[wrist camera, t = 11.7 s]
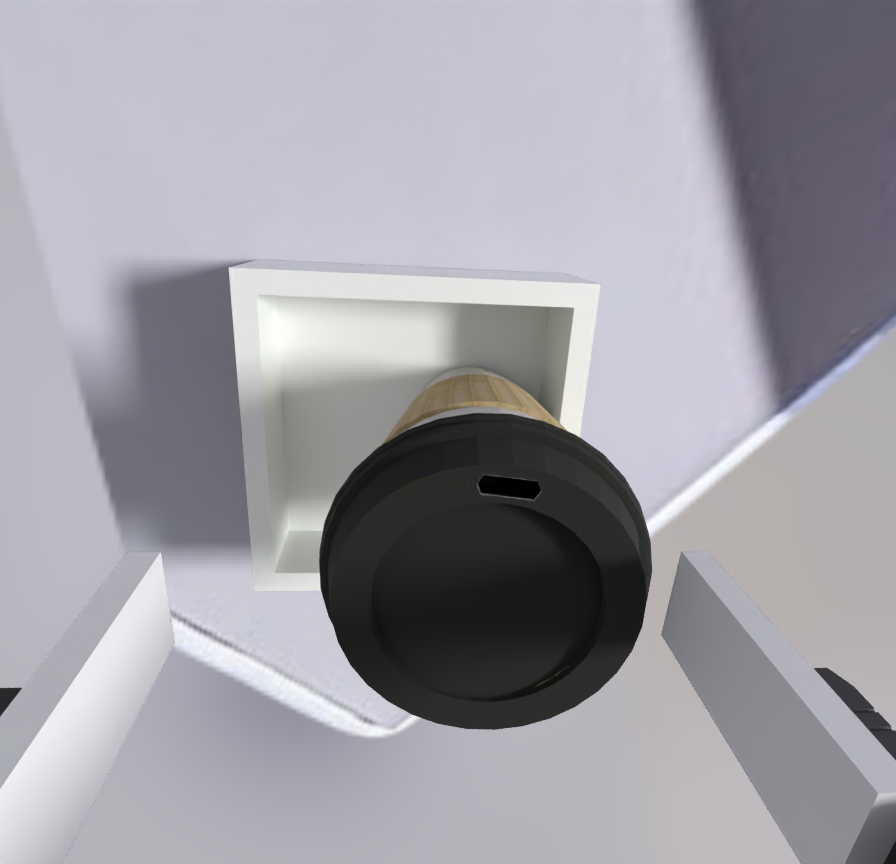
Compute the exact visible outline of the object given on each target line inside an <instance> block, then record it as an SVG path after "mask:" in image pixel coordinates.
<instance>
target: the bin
mask: <svg viewBox="0 0 896 864" xmlns="http://www.w3.org/2000/svg"><path fill="white" fill-rule="evenodd" d="M229 278H230V291H231V303H232V316H233V329H234V342H235V355H236V367H237V380H238V393H239V406H240V418H241V431H242V444H243V457H244V469H245V482H246V495H247V508H248V521H249V533H250V546H251V559H252V572H253V584H254V591H312V590H321V587H320V570H319V550H320V544H321V538H322V533H323V527H324V522H325V519H326V517H327V514H328V512H329V510H330V507H331V505H332V503H333V500H334V498H335V495H336V494H337V492H338V491H339V490H340V488H341V487H342V485H343V484H344V482H345V481H346V480H347V478H348V477H349V475H350V474H351V473H352V471H353V470H354V469H355V468H356V467H357V466H358V465H359V464H360V463H361V462H362V461H364V460H365V459H366V458H367V457H368V456H369V455H370V454H371V453H372V452H373V451H374V450H376V449H377V448H378V447H379V446H381V445H382V443H383V442H384V441H385V439H386V438H387V436H388V435H389V434H390V432H391V431H392V429H393V428H394V427H395V425H396V424H397V422H398V421H399V420H400V418H401V417H402V415H403V414H404V413H405V411H406V410H407V408H408V407H409V406H410V404H411V403H412V401H413V400H415V399H416V398H417V397H418V396H419V395H420V394H421V393H422V391H423V390H424V388H425V387H426V386H427V385H428V384H429V383H430V382H431V381H433V380H434V379H435V378H437V377H438V376H440V375H442V374H443V373H445V372H448V371H451V370H453V369H456V368H462V367H482V368H486V369H491V370H494V371H496V372H498V373H500V374H503V375H504V376H505V377H507V378H508V379H510V380H511V381H512V382H513V383H514V384H516V385H517V386H519V387H520V388H522V389H523V390H524V391H526V392H527V393H529V394H530V395H531V396H532V397H533V398H534V399H535V400H536V401H537V402H538V403H539V404H540V405H541V406H542V407H543V408H544V409H545V410H547V411H548V412H549V413H550V414H551V415H552V416H553V417H554V418H555V419H556V420H557V421H558V422H559V423H560V424H561V425H562V426H563V427H564V428H565V429H566V430H567V431H568V432H571V433H573V434H575V435H577V436H578V437H580V430H581V423H582V416H583V408H584V401H585V394H586V387H587V380H588V372H589V365H590V358H591V351H592V343H593V336H594V329H595V322H596V315H597V307H598V300H599V293H600V286H601V284H598V283H595V282H592V281H588V280H585V279H582V278H579V277H575V276H572V275H569V274H558V273H537V272H515V271H494V270H472V269H450V268H429V267H407V266H386V265H364V264H343V263H321V262H300V261H278V260H254V261H251V262H247V263H243V264H240V265H236V266H233V267H229Z"/></svg>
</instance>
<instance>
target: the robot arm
mask: <svg viewBox="0 0 896 864" xmlns="http://www.w3.org/2000/svg"><path fill="white" fill-rule="evenodd" d="M662 637H663V638H664V640H665V641H666V643H667V645H668V646H669V648H670V650H671V651H672V653H673V655H674V656H675V658H676V659H677V661H678V663H679V664H680V666H681V668H682V669H683V671H684V673H685V674H686V676H687V677H688V679H689V681H690V682H691V684H692V686H693V687H694V689H695V691H696V692H697V694H698V696H699V697H700V699H701V700H702V702H703V704H704V705H705V707H706V709H707V710H708V712H709V714H710V715H711V717H712V718H713V720H714V722H715V724H716V725H717V727H718V728H719V730H720V732H721V733H722V735H723V737H724V738H725V740H726V742H727V743H728V745H729V746H730V748H731V750H732V751H733V753H734V755H735V756H736V758H737V760H738V761H739V763H740V765H741V766H742V768H743V769H744V771H745V773H746V774H747V776H748V778H749V779H750V781H751V782H752V784H753V786H754V787H755V789H756V791H757V792H758V794H759V795H760V797H761V799H762V801H763V802H764V804H765V805H766V807H767V809H768V811H769V812H770V814H771V815H772V817H773V819H774V820H775V822H776V824H777V825H778V827H779V829H780V830H781V832H782V834H783V835H784V836H785V838H786V840H787V842H788V843H789V845H790V846H791V848H792V850H793V851H794V853H795V855H796V856H797V858H798V860H799V861H800V863H801V864H896V731H892V729H891V726H890V725H889V723H888V722H887V721H886V720H885V719H884V718H883V717H882V716H881V715H880V714H879V713H878V712H875V711H874V708H873V706H872V705H871V704H870V703H869V702H868V701H867V700H866V699H865V698H864V697H863V696H862V695H861V694H860V693H859V692H858V691H857V689H855V687H853V686H852V685H851V684H849V683H848V682H847V681H845V680H843V679H842V678H841V677H839V676H838V675H837V674H835V673H834V672H832V671H831V670H829V669H828V668H813V667H812V666H811V665H810V664H809V663H808V662H807V661H806V659H805V658H804V657H803V656H802V655H801V654H800V653H799V651H798V650H797V649H796V648H795V647H794V646H793V645H792V644H791V642H789V640H788V639H787V638H786V637H785V636H784V635H783V633H782V632H780V630H779V629H778V628H777V627H776V626H775V625H774V624H773V622H772V621H771V620H770V619H769V618H768V617H767V616H766V615H765V613H764V612H763V611H762V610H761V609H760V608H759V607H758V605H757V604H756V603H755V602H754V601H753V600H752V599H751V598H750V596H749V595H748V594H747V593H746V592H745V591H744V590H743V589H742V588H741V586H740V585H739V584H738V583H737V582H736V581H735V580H734V579H733V578H732V576H730V574H729V573H728V572H727V571H726V570H725V569H724V567H723V566H722V565H721V564H720V563H719V562H718V561H717V559H716V558H715V557H714V556H713V555H712V554H711V553H710V552H709V551H681V555H680V559H679V564H678V568H677V572H676V576H675V580H674V584H673V588H672V592H671V597H670V601H669V605H668V609H667V614H666V618H665V621H664V626H663V630H662ZM174 643H175V640H174V634H173V628H172V621H171V615H170V609H169V602H168V596H167V589H166V583H165V577H164V570H163V564H162V558H161V552H127V553H126V554H125V556H124V557H123V558H122V560H121V561H120V562H119V563H118V565H117V566H116V567H115V569H114V570H113V571H112V572H111V574H110V575H109V576H108V578H107V579H106V580H105V582H104V583H103V584H102V585H101V587H100V588H99V589H98V591H97V592H96V593H95V594H94V596H93V597H92V598H91V600H90V601H89V602H88V604H87V605H86V606H85V607H84V609H83V610H82V611H81V613H80V614H79V615H78V617H77V618H76V619H75V620H74V622H73V623H72V624H71V626H70V627H69V628H68V629H67V631H66V632H65V633H64V635H63V636H62V637H61V639H60V640H59V641H58V642H57V644H56V645H55V646H54V648H53V649H52V650H51V651H50V653H49V654H48V655H47V657H46V658H45V659H44V661H43V662H42V663H41V664H40V666H39V667H38V668H37V670H36V671H35V672H34V674H33V675H32V676H31V678H30V679H29V680H28V681H27V683H26V684H25V685H24V686H23V688H0V864H63V863H64V861H65V859H66V857H67V855H68V853H69V851H70V849H71V847H72V845H73V843H74V841H75V839H76V837H77V835H78V833H79V831H80V829H81V827H82V825H83V823H84V821H85V819H86V817H87V815H88V813H89V811H90V809H91V807H92V805H93V803H94V801H95V799H96V797H97V795H98V793H99V792H100V790H101V788H102V785H103V783H104V782H105V780H106V778H107V776H108V774H109V772H110V770H111V768H112V766H113V764H114V762H115V760H116V758H117V756H118V754H119V752H120V750H121V748H122V746H123V744H124V742H125V740H126V738H127V736H128V734H129V732H130V730H131V728H132V726H133V724H134V722H135V720H136V718H137V716H138V714H139V712H140V710H141V708H142V706H143V705H144V702H145V700H146V699H147V697H148V695H149V693H150V691H151V688H152V687H153V685H154V683H155V681H156V679H157V677H158V675H159V673H160V671H161V669H162V667H163V665H164V663H165V661H166V659H167V657H168V655H169V653H170V651H171V649H172V647H173V645H174Z"/></svg>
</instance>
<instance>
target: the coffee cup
mask: <svg viewBox="0 0 896 864" xmlns="http://www.w3.org/2000/svg"><path fill="white" fill-rule="evenodd" d="M319 570H320V587H321V591H322V595H323V598H324V602H325V605H326V609H327V612H328V616H329V618H330V620H331V622H332V624H333V626H334V629H335V633H336V636H337V640H338V643H339V645H340V646H341V648H342V650H343V652H344V654H345V656H346V657H347V659H348V661H349V663H350V665H351V666H352V667H353V668H354V670H355V671H356V672H357V673H358V674H359V675H360V677H361V678H362V679H363V680H364V681H365V682H366V684H367V685H368V686H370V687H371V688H372V689H373V690H375V691H376V692H377V693H378V694H380V695H381V696H382V697H383V698H385V699H386V700H387V701H388V702H390V703H392V704H394V705H396V706H397V707H399V708H401V709H403V710H405V711H407V712H408V713H410V714H412V715H415V716H418V717H421V718H423V719H426V720H429V721H432V722H435V723H438V724H443V725H448V726H454V727H459V728H465V729H493V730H495V729H503V728H511V727H519V726H525V725H528V724H532V723H535V722H539V721H542V720H546V719H550V718H552V717H554V716H556V715H558V714H560V713H563V712H565V711H567V710H569V709H571V708H573V707H575V706H577V705H578V704H580V703H581V702H583V701H584V700H586V699H587V698H589V697H590V696H592V695H593V694H595V693H596V692H597V691H599V690H600V689H601V688H602V687H603V686H604V684H606V683H607V682H608V681H609V680H610V679H611V678H612V677H613V676H614V675H615V674H616V673H617V672H618V670H619V669H620V667H621V666H622V665H623V663H624V662H625V660H626V659H627V657H628V656H629V654H630V653H631V651H632V650H633V647H634V645H635V642H636V640H637V638H638V635H639V633H640V630H641V628H642V624H643V618H644V613H645V607H646V601H647V597H648V592H649V586H650V580H651V574H652V561H651V543H650V538H649V533H648V529H647V526H646V523H645V519H644V516H643V513H642V509H641V506H640V503H639V501H638V500H637V498H636V496H635V494H634V493H633V491H632V489H631V487H630V486H629V484H628V482H627V480H626V479H625V477H624V476H623V475H622V474H621V473H620V472H619V471H618V469H617V468H616V467H615V466H614V465H613V464H612V463H611V462H610V461H609V460H608V459H607V457H606V456H605V455H604V454H603V453H601V452H600V451H598V450H597V449H595V448H594V447H593V446H591V445H590V444H588V443H587V442H586V441H584V440H583V439H581V438H580V437H578V436H577V435H575V434H573V433H571V432H568V431H567V430H566V429H565V428H564V427H563V426H562V425H561V424H560V423H559V422H558V421H557V420H556V419H555V418H554V417H553V416H552V415H551V414H550V413H549V412H548V411H547V410H545V409H544V408H543V407H542V406H541V405H540V404H539V403H538V402H537V401H536V400H535V399H534V398H533V397H532V396H531V395H530V394H529V393H527V392H526V391H524V390H523V389H522V388H520V387H519V386H517V385H516V384H514V383H513V382H512V381H511V380H510V379H508V378H507V377H505V376H504V375H503V374H500V373H498V372H496V371H494V370H491V369H486V368H482V367H462V368H456V369H453V370H451V371H448V372H445V373H443V374H442V375H440V376H438V377H437V378H435V379H434V380H433V381H431V382H430V383H429V384H428V385H427V386H426V387H425V388H424V390H423V391H422V393H421V394H420V395H419V396H418V397H417V398H416V399H415V400H413V401H412V403H411V404H410V406H409V407H408V408H407V410H406V411H405V413H404V414H403V415H402V417H401V418H400V420H399V421H398V422H397V424H396V425H395V427H394V428H393V429H392V431H391V432H390V434H389V435H388V436H387V438H386V439H385V441H384V442H383V443H382V445H381V446H379V447H378V448H377V449H376V450H374V451H373V452H372V453H371V454H370V455H369V456H368V457H367V458H366V459H365V460H364V461H362V462H361V463H360V464H359V465H358V466H357V467H356V468H355V469H354V470H353V471H352V473H351V474H350V475H349V477H348V478H347V480H346V481H345V482H344V484H343V485H342V487H341V488H340V490H339V491H338V492H337V494H336V495H335V498H334V500H333V503H332V505H331V507H330V510H329V512H328V514H327V517H326V519H325V522H324V527H323V533H322V538H321V544H320V550H319Z"/></svg>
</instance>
